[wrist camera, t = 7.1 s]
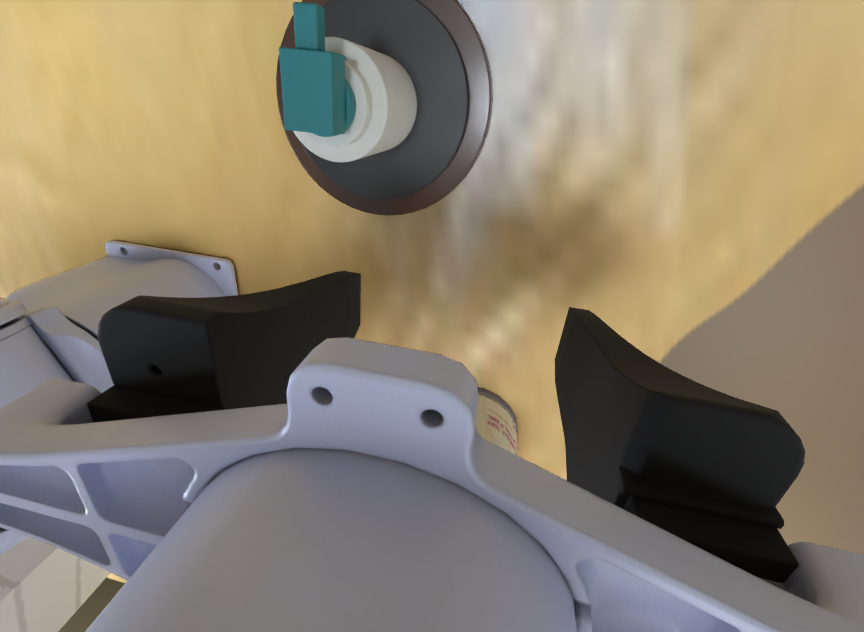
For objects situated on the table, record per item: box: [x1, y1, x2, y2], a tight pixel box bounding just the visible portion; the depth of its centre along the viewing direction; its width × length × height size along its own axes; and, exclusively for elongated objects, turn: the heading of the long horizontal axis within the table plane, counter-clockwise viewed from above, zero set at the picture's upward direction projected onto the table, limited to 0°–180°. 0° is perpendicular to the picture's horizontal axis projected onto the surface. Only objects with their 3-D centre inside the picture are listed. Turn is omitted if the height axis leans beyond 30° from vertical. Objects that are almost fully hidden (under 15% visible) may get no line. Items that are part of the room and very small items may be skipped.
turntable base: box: [276, 0, 492, 215], centre depth 21 cm, size 11×11×1 cm
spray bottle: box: [279, 0, 469, 200], centre depth 17 cm, size 9×9×8 cm
